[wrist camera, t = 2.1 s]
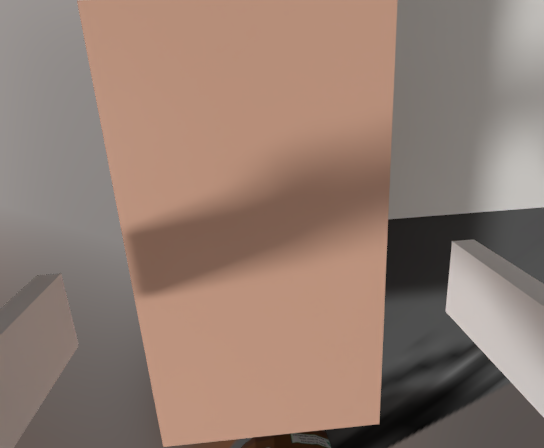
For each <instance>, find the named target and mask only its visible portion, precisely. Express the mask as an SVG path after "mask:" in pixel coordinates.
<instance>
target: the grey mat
mask: <svg viewBox="0 0 544 448" xmlns="http://www.w3.org/2000/svg"><path fill="white" fill-rule="evenodd" d="M540 207H544V0H398V1H397V25H396V48H395V72H394V95H393V118H392V142H391V165H390V188H389V212H388V219H400V218H413V217H425V216H438V215H451V214H463V213H476V212H489V211H501V210H514V209H527V208H540Z"/></svg>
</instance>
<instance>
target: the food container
mask: <svg viewBox="0 0 544 448" xmlns="http://www.w3.org/2000/svg"><path fill="white" fill-rule="evenodd" d="M241 448H331V445H330V442H329V439H328V436H327V434H326V432H325V431H322V430H319V431H309V432H300V433H290V434H281V435H271V436H262V437H253V438H252V439H250V440H249V441H248V442H246V443H245V444H244V445H243V446H242V447H241Z"/></svg>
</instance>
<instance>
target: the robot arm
mask: <svg viewBox="0 0 544 448" xmlns="http://www.w3.org/2000/svg"><path fill="white" fill-rule="evenodd" d="M446 313H447V314H448V315H449V316H450V317H451V318H452V319H453V320H454V321H455V322H456V323H457V324H458V325H459V327H460V328H461V329H462V330H463V331H464V332H465V333H466V334H467V335H468V336H469V337H470V338H471V339H472V341H473V342H474V343H475V344H476V345H477V346H478V347H479V348H480V349H481V350H482V351H483V352H484V353H485V355H486V356H487V357H488V358H489V359H490V360H491V361H492V362H493V363H494V364H495V365H496V366H497V368H498V369H499V370H500V371H501V372H502V373H503V374H504V375H505V376H506V377H507V378H508V379H509V380H510V382H511V383H512V384H513V385H515V387H516V388H517V389H518V390H519V391H520V392H521V393H522V394H523V395H524V397H525V398H526V399H527V400H528V401H529V402H530V403H531V404H532V405H533V406H534V407H535V408H536V410H537V411H538V412H539V413H540V414H541V415H542V416H543V417H544V284H543V283H541V282H540V281H538V280H537V279H535V278H533V277H532V276H530V275H529V274H527V273H526V272H524V271H522V270H521V269H519V268H518V267H516V266H515V265H513V264H511V263H510V262H508V261H507V260H505V259H504V258H502V257H500V256H499V255H497V254H496V253H494V252H493V251H491V250H490V249H488V248H486V247H485V246H483V245H482V244H480V243H479V242H477V241H475V240H474V239H472V240H460V241H452V247H451V258H450V269H449V280H448V291H447V302H446ZM78 346H79V344H78V340H77V336H76V332H75V328H74V324H73V320H72V316H71V312H70V308H69V304H68V299H67V295H66V291H65V288H64V283H63V279H62V276H61V273H59V274H46V275H37V276H36V277H35V278H33V279H32V280H31V281H30V282H29V283H28V284H27V285H26V286H25V287H23V289H21V291H19V292H18V293H17V294H16V295H15V296H14V297H12V298H11V299H10V300H9V301H8V302H7V303H6V304H5V305H4V306H3V307H2V308H0V448H14V446H15V445H16V443H17V442H18V440H19V438H20V437H21V435H22V434H23V432H24V430H25V429H26V427H27V426H28V424H29V423H30V421H31V420H32V418H33V416H34V415H35V413H36V412H37V410H38V408H39V407H40V405H41V404H42V402H43V400H44V399H45V397H46V396H47V394H48V393H49V391H50V390H51V388H52V386H53V385H54V383H55V382H56V380H57V379H58V377H59V375H60V374H61V372H62V371H63V369H64V368H65V366H66V364H67V363H68V361H69V360H70V358H71V357H72V355H73V353H74V352H75V350H76V349H77V347H78Z"/></svg>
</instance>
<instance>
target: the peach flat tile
mask: <svg viewBox="0 0 544 448" xmlns="http://www.w3.org/2000/svg"><path fill="white" fill-rule="evenodd" d="M397 1H398V0H83V1H77V3H78V8H79V13H80V18H81V23H82V29H83V34H84V39H85V44H86V49H87V54H88V60H89V65H90V70H91V75H92V80H93V86H94V91H95V95H96V101H97V106H98V111H99V117H100V122H101V127H102V132H103V137H104V142H105V148H106V153H107V158H108V163H109V168H110V173H111V178H112V184H113V189H114V194H115V199H116V204H117V210H118V215H119V220H120V225H121V230H122V235H123V241H124V246H125V251H126V256H127V261H128V267H129V272H130V277H131V282H132V287H133V292H134V298H135V303H136V308H137V313H138V318H139V323H140V329H141V334H142V339H143V344H144V349H145V354H146V360H147V365H148V370H149V375H150V380H151V386H152V391H153V396H154V401H155V406H156V411H157V417H158V422H159V427H160V432H161V437H162V442H163V447H168V446H177V445H186V444H195V443H205V442H214V441H224V440H233V439H243V438H253V437H262V436H271V435H281V434H290V433H300V432H309V431H319V430H328V429H338V428H347V427H357V426H366V425H375V424H379V422H380V398H381V375H382V352H383V328H384V305H385V282H386V258H387V235H388V212H389V188H390V165H391V142H392V118H393V95H394V72H395V48H396V25H397Z"/></svg>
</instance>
